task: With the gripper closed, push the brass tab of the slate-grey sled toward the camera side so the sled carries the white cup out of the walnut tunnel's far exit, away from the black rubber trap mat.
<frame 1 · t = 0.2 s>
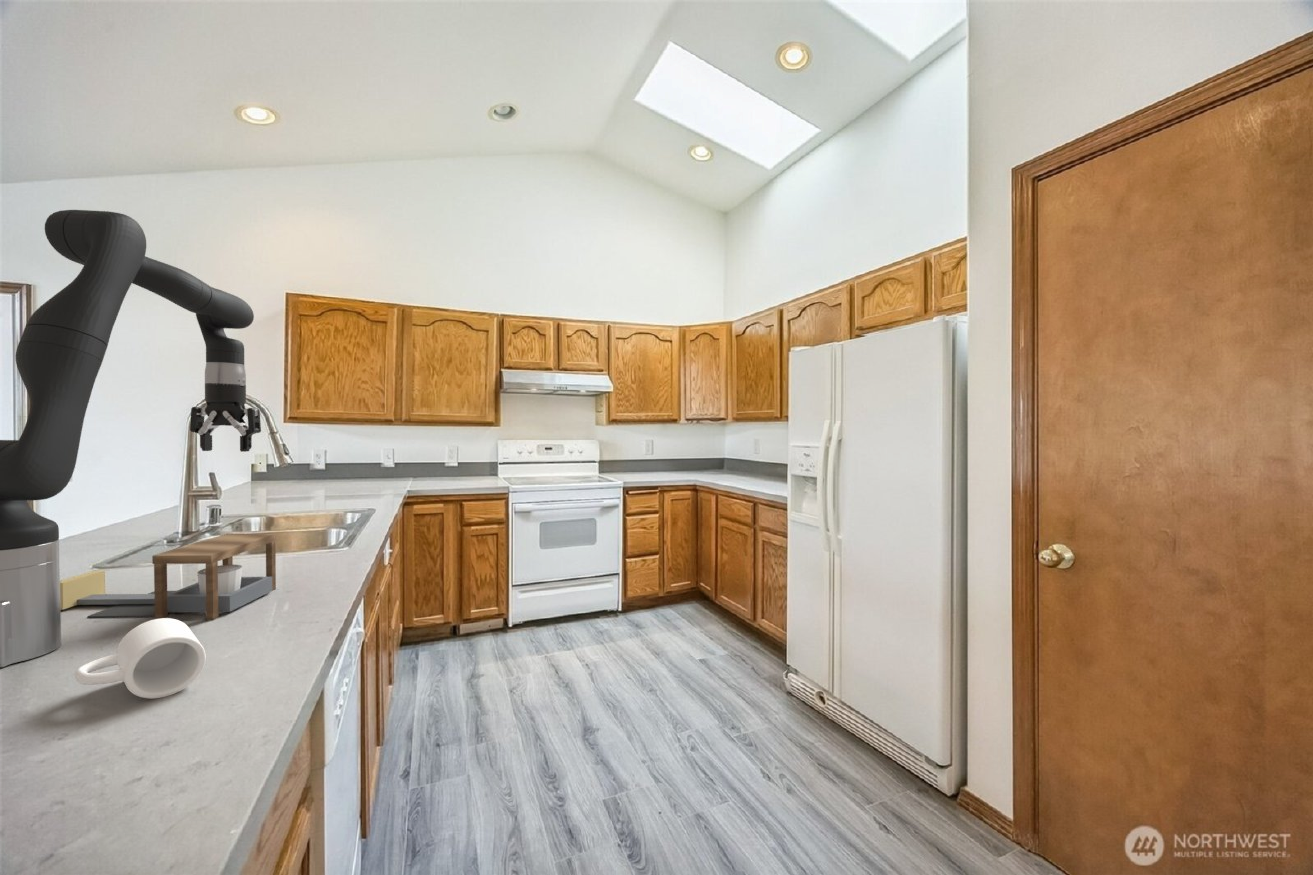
hand: (226, 451, 123), 29 cm above the countertop, fingers open, 8 cm apart
tunnel: (220, 603, 103), on the countertop
white cup: (220, 604, 103), resting in sled
mug: (141, 691, 71), on the countertop
sled: (164, 588, 102), point 3 cm above the countertop, slide at 0.0 cm
trap mat: (156, 603, 102), on the countertop
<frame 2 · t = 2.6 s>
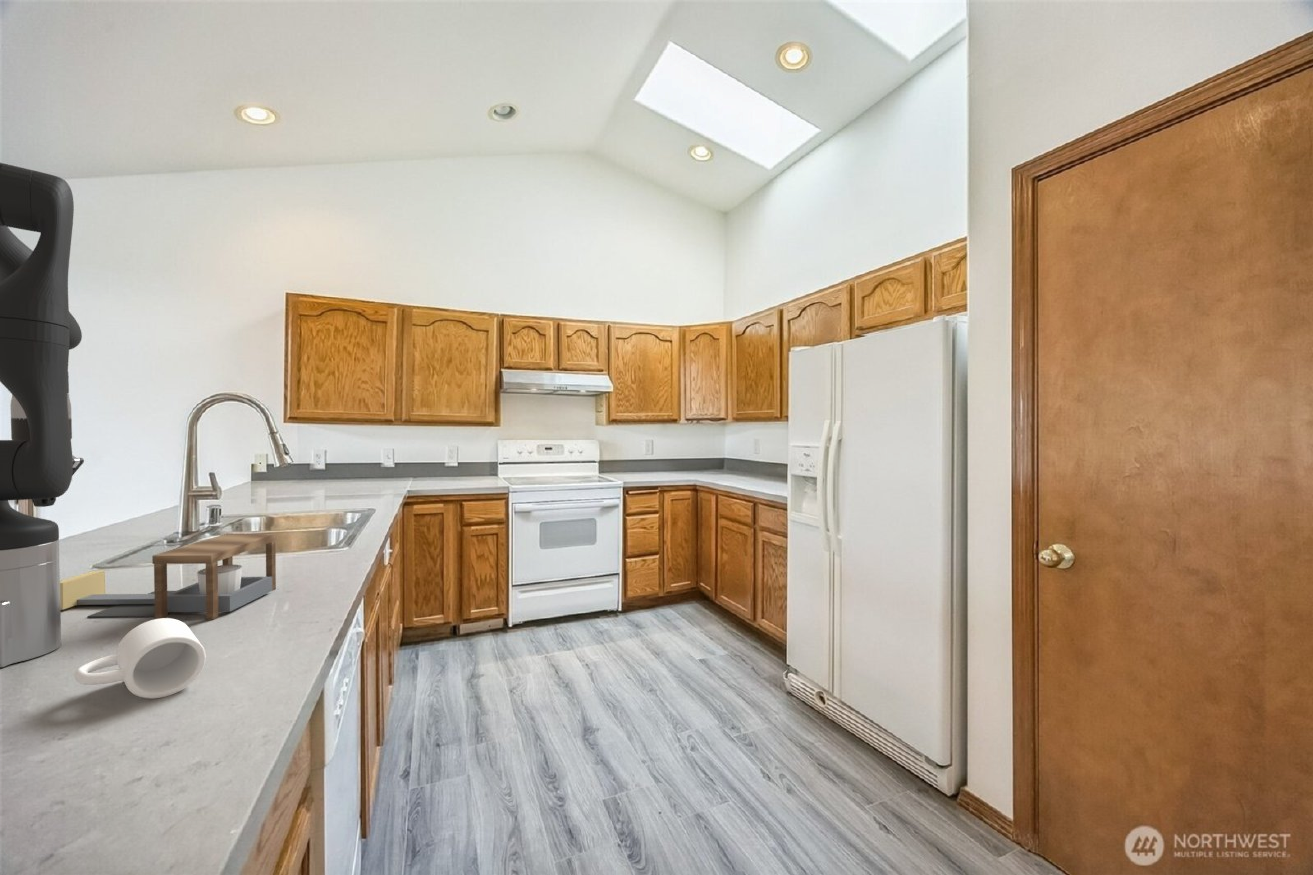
hand: (44, 506, 100), 19 cm above the countertop, fingers closed
nothing on the countertop moved.
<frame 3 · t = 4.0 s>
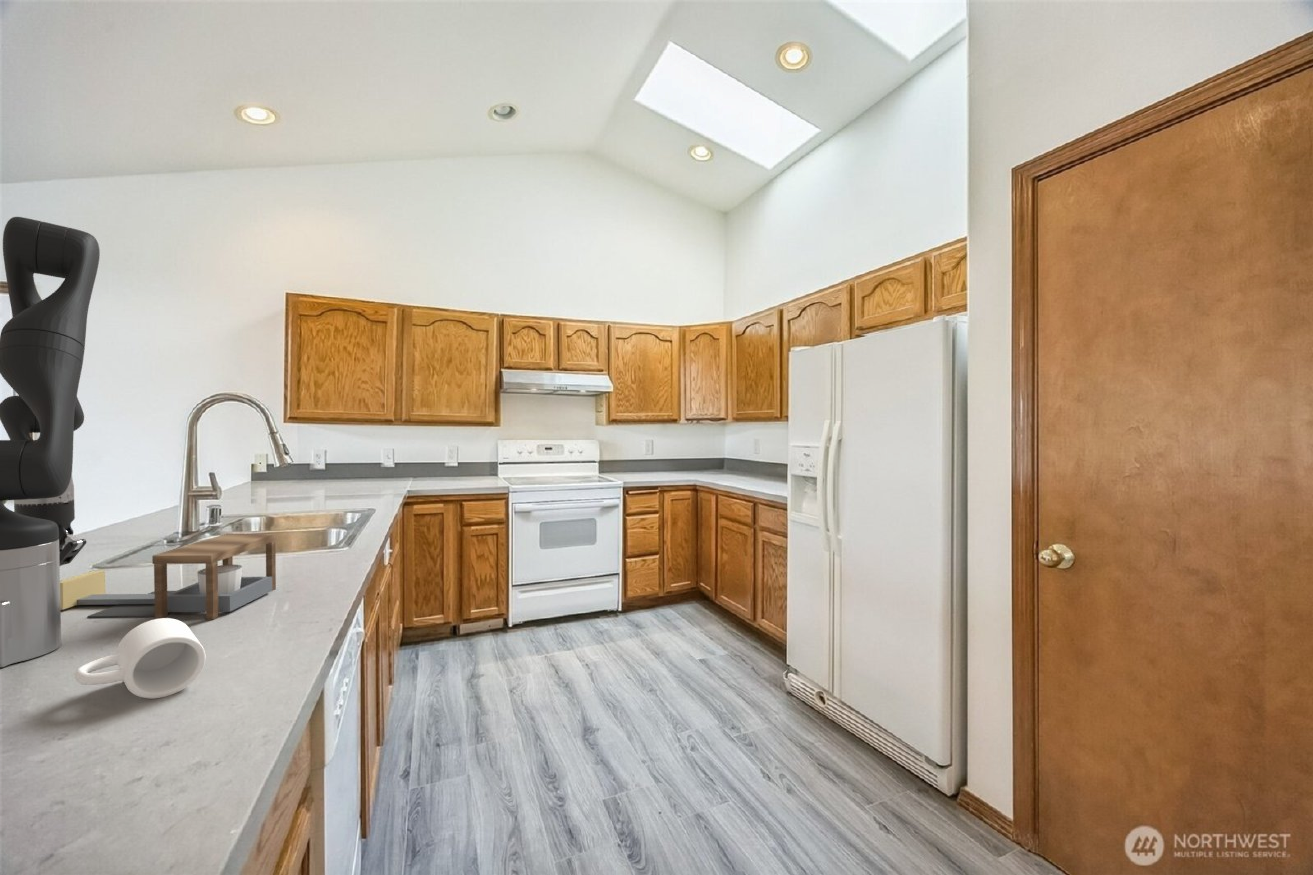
hand: (47, 587, 101), 3 cm above the countertop, fingers closed
nothing on the countertop moved.
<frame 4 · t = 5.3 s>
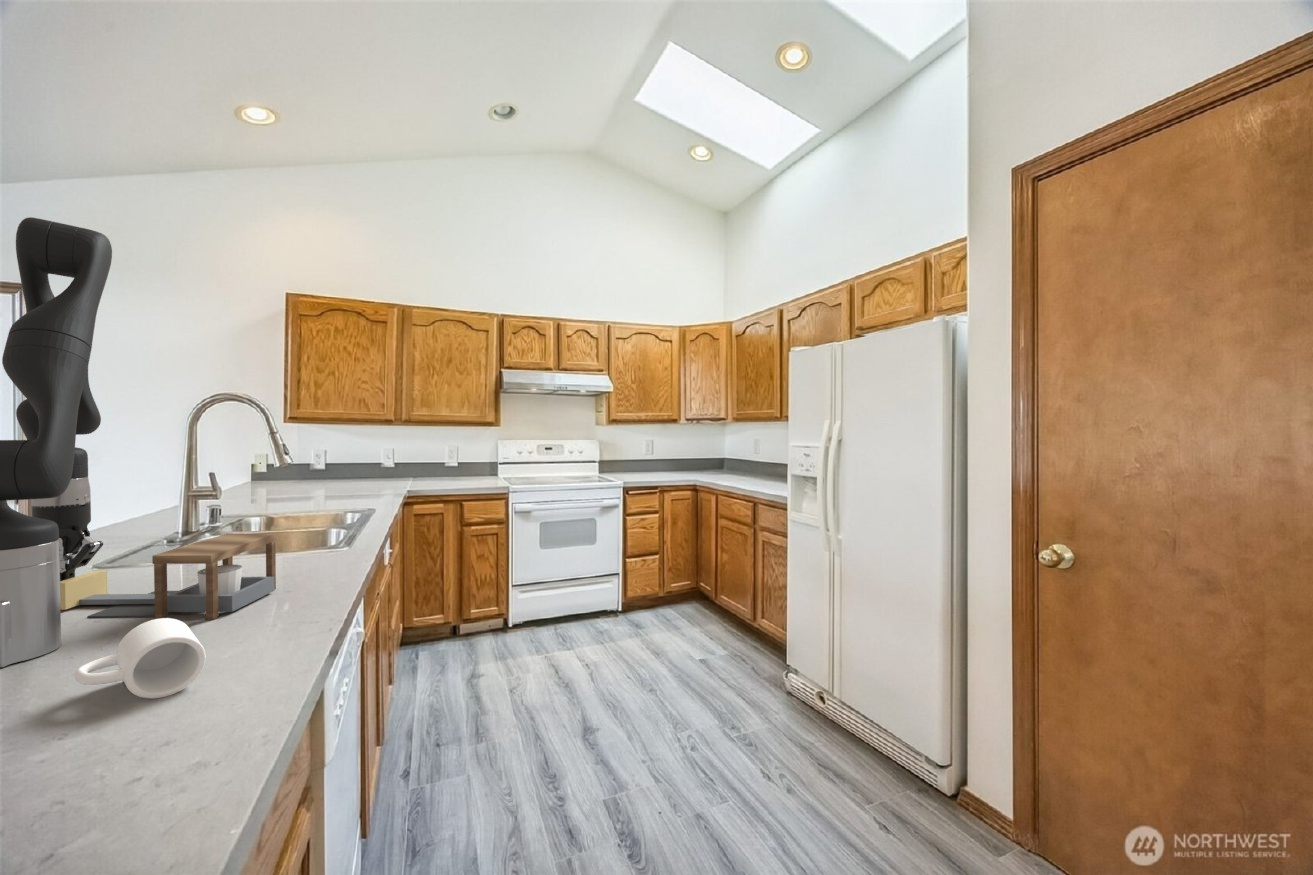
hand: (63, 589, 101), 3 cm above the countertop, fingers closed
sled: (166, 588, 102), point 3 cm above the countertop, slide at 0.4 cm, touching gripper
everything else where it was.
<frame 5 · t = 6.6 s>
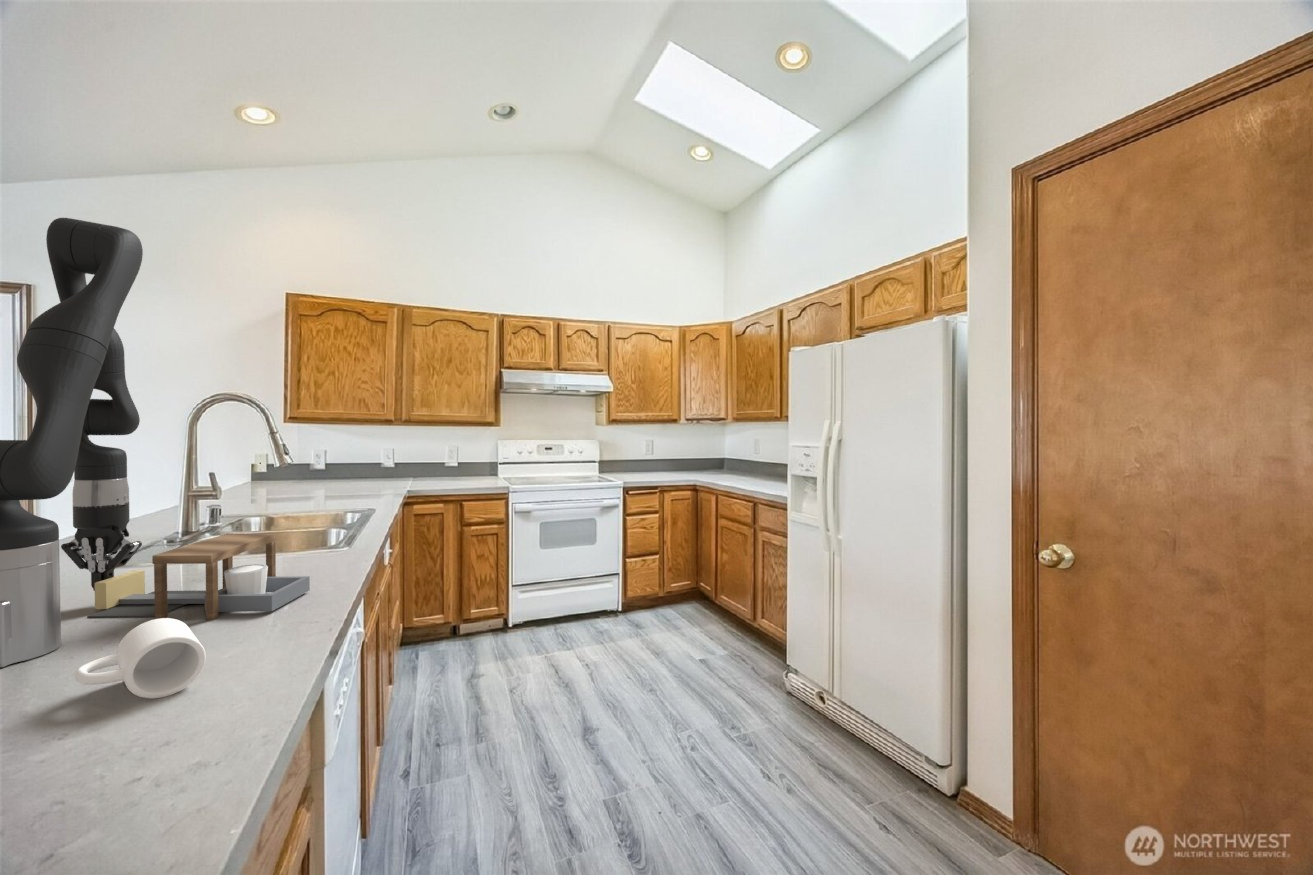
hand: (102, 589, 101), 3 cm above the countertop, fingers closed
white cup: (246, 604, 103), resting in sled
sled: (204, 588, 103), point 3 cm above the countertop, slide at 7.5 cm, touching gripper, white cup
everything else where it was.
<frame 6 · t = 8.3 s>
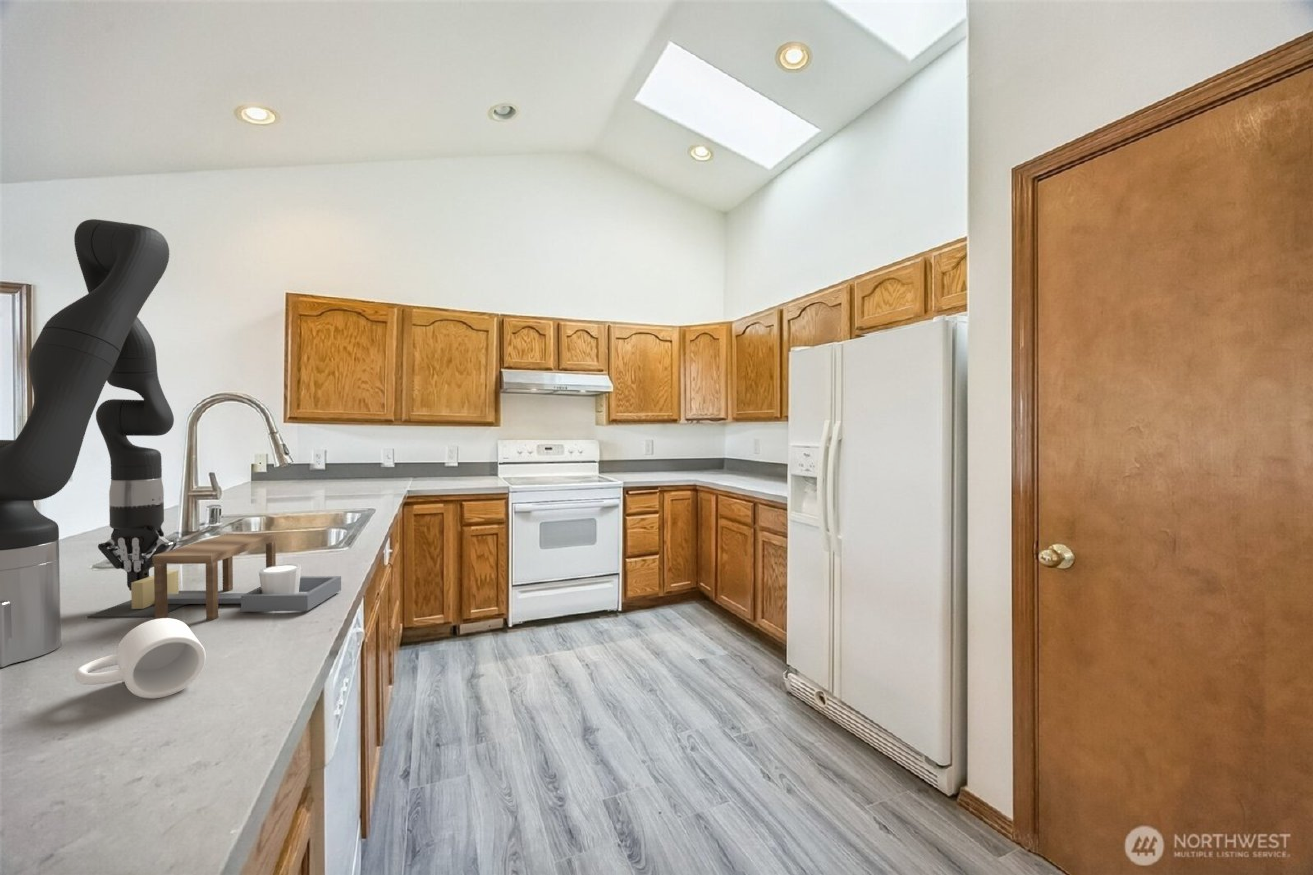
hand: (138, 589, 102), 3 cm above the countertop, fingers closed
white cup: (280, 603, 104), resting in sled
sled: (238, 588, 103), point 3 cm above the countertop, slide at 14.0 cm, touching gripper, white cup
everything else where it was.
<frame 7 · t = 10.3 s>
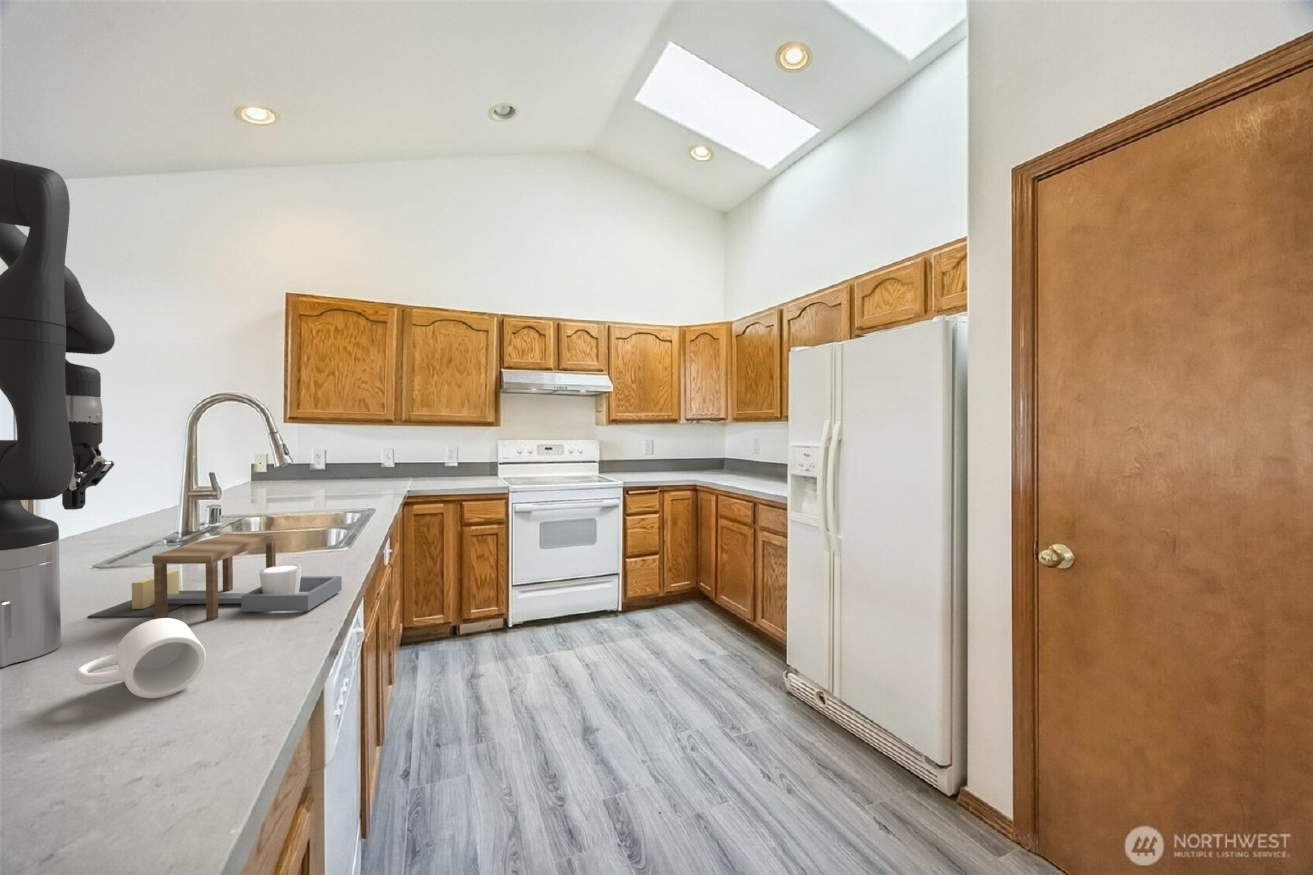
hand: (74, 509, 100), 19 cm above the countertop, fingers closed
white cup: (281, 604, 104), resting in sled
sled: (239, 588, 103), point 3 cm above the countertop, slide at 14.1 cm
everything else where it was.
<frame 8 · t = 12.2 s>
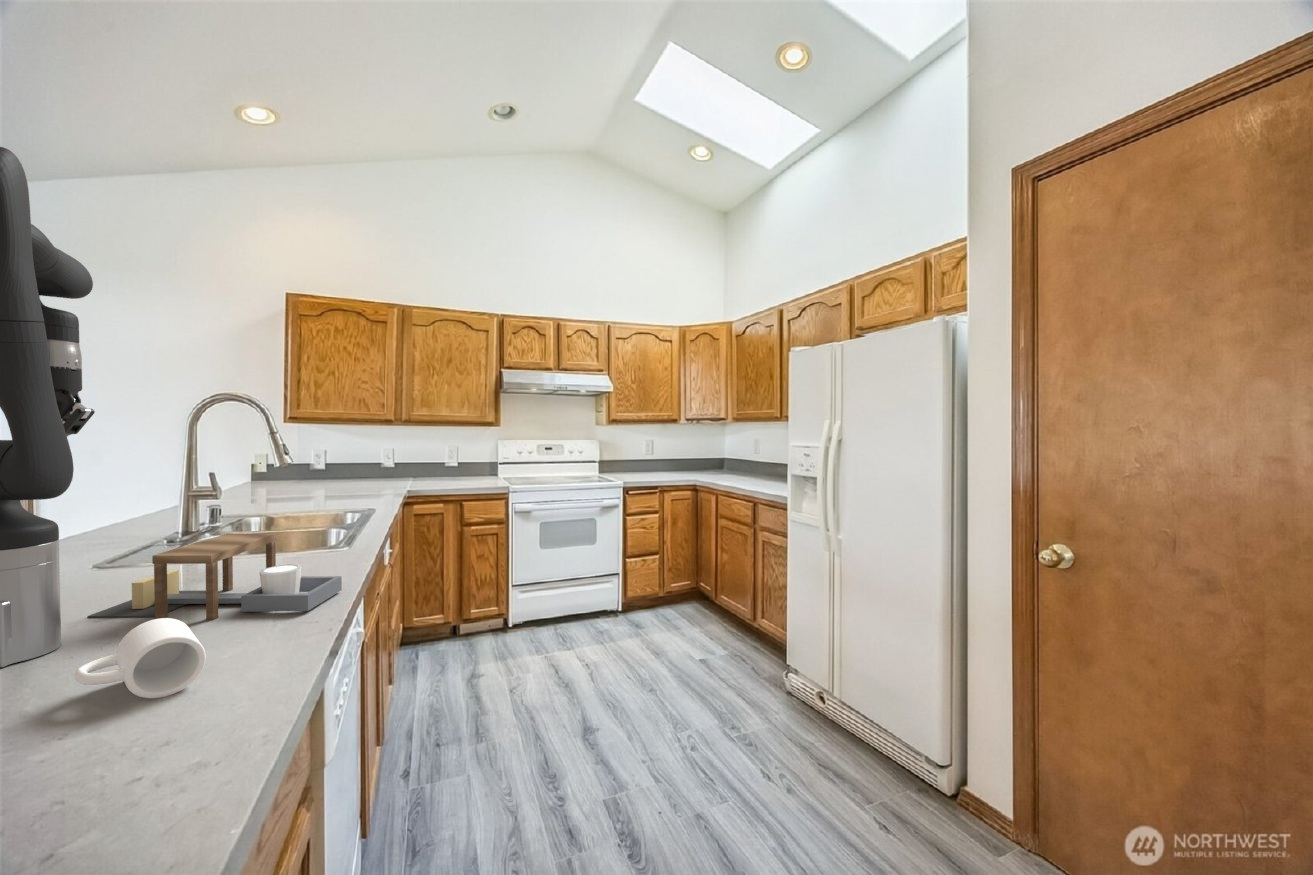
hand: (54, 457, 98), 29 cm above the countertop, fingers closed
nothing on the countertop moved.
at the end: sled slide at 14.1 cm; white cup inside the target area (2.2 cm from its centre), resting in sled; white cup tilted 0° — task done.
